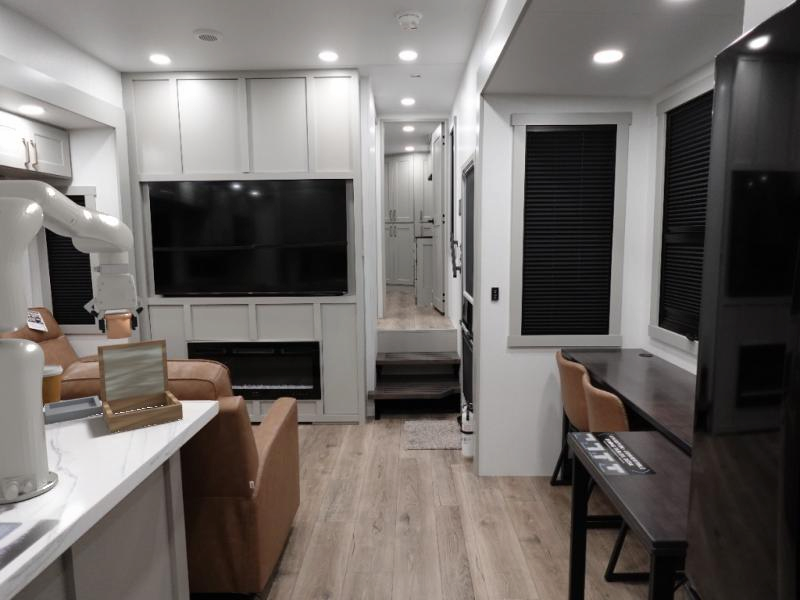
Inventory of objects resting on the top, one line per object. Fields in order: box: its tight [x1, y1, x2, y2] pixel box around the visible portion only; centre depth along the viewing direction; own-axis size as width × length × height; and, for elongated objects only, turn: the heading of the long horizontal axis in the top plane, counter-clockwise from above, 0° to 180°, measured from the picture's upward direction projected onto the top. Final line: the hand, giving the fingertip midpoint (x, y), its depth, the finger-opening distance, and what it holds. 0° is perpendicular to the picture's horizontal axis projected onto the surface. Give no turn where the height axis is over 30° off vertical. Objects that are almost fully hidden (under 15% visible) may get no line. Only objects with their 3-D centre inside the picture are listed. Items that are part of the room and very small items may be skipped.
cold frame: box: [97, 338, 184, 434], centre depth 146 cm, size 19×18×21 cm
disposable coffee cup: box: [42, 364, 64, 406], centre depth 161 cm, size 10×10×12 cm
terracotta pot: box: [103, 311, 133, 340], centre depth 145 cm, size 7×7×7 cm
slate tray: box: [44, 395, 102, 425], centre depth 152 cm, size 14×14×2 cm
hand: (118, 330), depth 146 cm, fingers closed on terracotta pot, 7 cm apart
